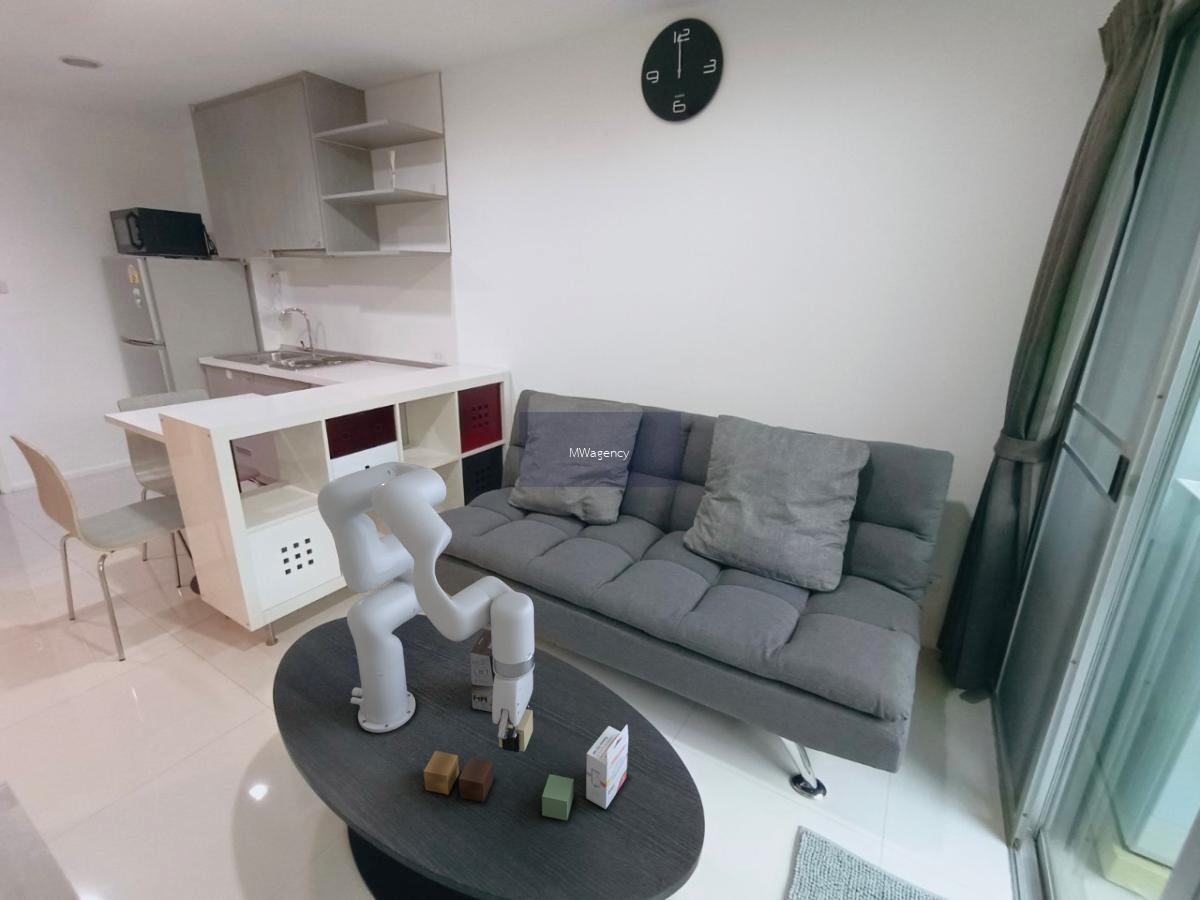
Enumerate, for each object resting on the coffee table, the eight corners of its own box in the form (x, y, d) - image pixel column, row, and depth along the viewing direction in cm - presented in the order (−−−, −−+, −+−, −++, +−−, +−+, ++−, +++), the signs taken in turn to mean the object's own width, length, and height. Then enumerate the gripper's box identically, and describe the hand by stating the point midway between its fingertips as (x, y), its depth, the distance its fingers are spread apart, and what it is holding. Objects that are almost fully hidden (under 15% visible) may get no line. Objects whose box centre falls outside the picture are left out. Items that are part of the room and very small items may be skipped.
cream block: (499, 746, 103) (498, 725, 102) (508, 726, 108) (507, 705, 106) (524, 751, 102) (524, 730, 101) (533, 730, 107) (532, 710, 105)
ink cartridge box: (606, 767, 117) (609, 712, 112) (626, 778, 114) (630, 723, 110) (584, 798, 110) (585, 741, 105) (605, 811, 107) (608, 753, 103)
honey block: (425, 789, 111) (423, 771, 109) (437, 768, 115) (435, 750, 114) (448, 794, 110) (446, 776, 108) (459, 773, 114) (458, 755, 113)
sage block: (541, 815, 106) (541, 796, 105) (549, 792, 111) (549, 773, 109) (567, 820, 105) (567, 801, 104) (573, 797, 110) (573, 778, 108)
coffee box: (497, 713, 130) (495, 657, 125) (471, 708, 131) (468, 652, 126) (510, 686, 138) (509, 632, 133) (486, 681, 139) (484, 628, 134)
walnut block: (460, 797, 109) (458, 778, 108) (470, 775, 114) (469, 757, 112) (483, 802, 108) (482, 783, 107) (493, 780, 113) (492, 762, 111)
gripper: (510, 627, 108) (512, 701, 114) (474, 689, 92) (479, 771, 98) (547, 632, 106) (547, 707, 112) (517, 696, 91) (520, 780, 96)
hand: (516, 736), depth 105 cm, fingers closed on cream block, 5 cm apart
